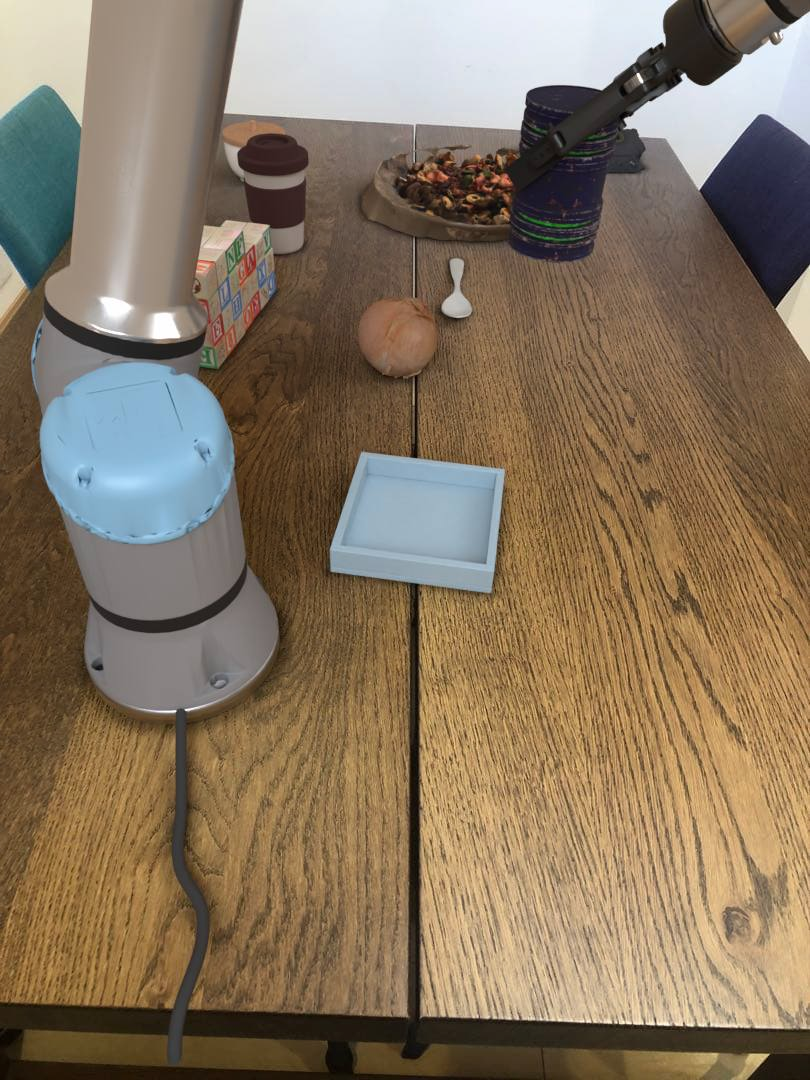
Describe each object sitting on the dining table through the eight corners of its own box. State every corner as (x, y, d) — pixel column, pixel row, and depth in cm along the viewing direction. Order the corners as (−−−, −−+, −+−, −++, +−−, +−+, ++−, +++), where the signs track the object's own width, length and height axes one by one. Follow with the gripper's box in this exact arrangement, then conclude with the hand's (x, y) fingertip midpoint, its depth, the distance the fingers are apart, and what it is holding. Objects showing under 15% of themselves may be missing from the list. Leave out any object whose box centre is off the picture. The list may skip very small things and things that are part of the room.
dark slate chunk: (519, 144, 161) (522, 118, 158) (627, 145, 163) (633, 120, 160) (534, 172, 150) (538, 145, 147) (650, 173, 152) (657, 146, 149)
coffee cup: (320, 254, 122) (316, 148, 112) (255, 263, 119) (245, 155, 109) (301, 228, 129) (296, 126, 118) (239, 236, 126) (228, 132, 116)
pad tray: (490, 593, 73) (494, 571, 71) (330, 571, 74) (329, 549, 72) (501, 490, 83) (505, 468, 81) (361, 472, 85) (361, 451, 83)
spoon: (440, 326, 108) (441, 315, 106) (442, 258, 123) (443, 247, 121) (471, 328, 107) (472, 316, 106) (470, 260, 122) (471, 249, 121)
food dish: (563, 181, 150) (572, 137, 145) (570, 262, 126) (581, 212, 121) (375, 161, 151) (376, 116, 146) (347, 237, 127) (348, 187, 122)
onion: (421, 381, 103) (460, 312, 98) (402, 403, 95) (444, 328, 90) (357, 342, 103) (393, 270, 98) (332, 360, 95) (370, 283, 90)
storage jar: (492, 231, 94) (508, 87, 84) (567, 222, 97) (591, 82, 86) (532, 268, 87) (555, 116, 77) (611, 257, 90) (643, 109, 80)
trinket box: (216, 184, 141) (209, 126, 135) (243, 164, 148) (237, 107, 142) (273, 193, 139) (269, 134, 132) (297, 172, 146) (294, 115, 140)
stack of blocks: (234, 285, 114) (223, 195, 106) (277, 291, 113) (269, 201, 105) (169, 363, 99) (151, 265, 90) (218, 370, 98) (204, 272, 89)
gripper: (701, 85, 65) (503, 230, 82) (780, 37, 79) (598, 169, 96) (654, -4, 63) (463, 162, 80) (744, -37, 77) (565, 111, 94)
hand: (536, 166), depth 88 cm, fingers closed on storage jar, 10 cm apart
